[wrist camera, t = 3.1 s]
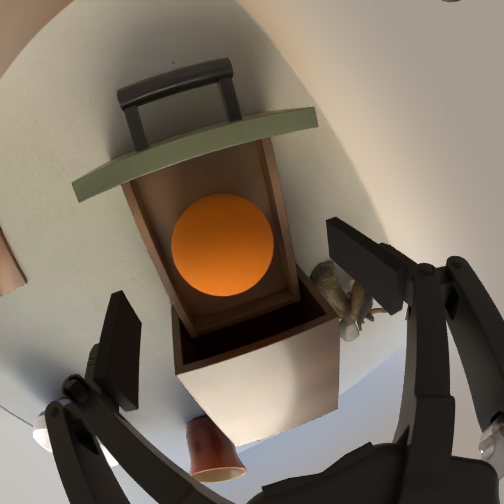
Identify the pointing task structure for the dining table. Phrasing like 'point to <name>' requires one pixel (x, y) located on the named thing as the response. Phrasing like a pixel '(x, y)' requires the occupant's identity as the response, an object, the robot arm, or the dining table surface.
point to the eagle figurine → (345, 300)
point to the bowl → (43, 438)
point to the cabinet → (264, 367)
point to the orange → (222, 244)
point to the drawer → (204, 189)
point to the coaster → (9, 269)
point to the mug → (211, 453)
